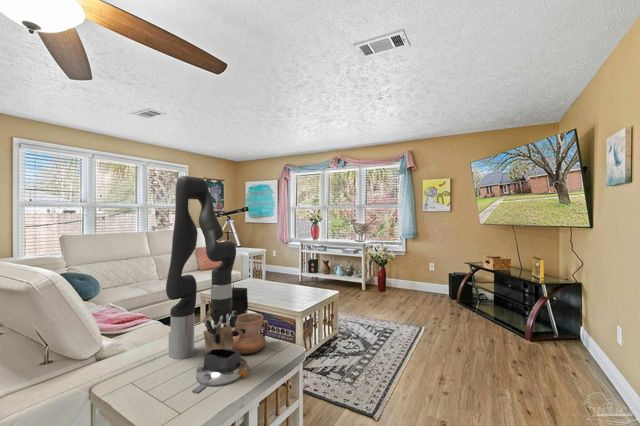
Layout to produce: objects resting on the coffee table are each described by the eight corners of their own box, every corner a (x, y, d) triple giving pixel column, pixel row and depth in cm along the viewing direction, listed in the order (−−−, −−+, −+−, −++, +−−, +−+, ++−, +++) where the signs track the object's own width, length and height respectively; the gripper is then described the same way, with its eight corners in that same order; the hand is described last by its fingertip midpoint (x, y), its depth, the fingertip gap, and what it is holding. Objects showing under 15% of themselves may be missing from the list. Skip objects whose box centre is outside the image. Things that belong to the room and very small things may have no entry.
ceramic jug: (236, 362, 120) (236, 326, 120) (224, 349, 131) (224, 316, 131) (276, 350, 130) (276, 317, 131) (261, 338, 142) (261, 308, 142)
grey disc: (184, 379, 107) (185, 359, 107) (219, 357, 123) (219, 339, 123) (229, 391, 99) (229, 369, 99) (259, 366, 116) (259, 347, 116)
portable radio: (250, 332, 149) (250, 282, 149) (244, 337, 143) (244, 285, 143) (235, 331, 151) (235, 281, 151) (229, 336, 145) (229, 284, 145)
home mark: (192, 392, 99) (192, 390, 99) (201, 385, 103) (201, 384, 103) (197, 393, 98) (197, 392, 98) (206, 387, 102) (206, 385, 102)
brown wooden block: (203, 331, 117) (223, 328, 108) (210, 329, 119) (231, 326, 110) (206, 349, 115) (227, 348, 106) (213, 347, 118) (234, 345, 108)
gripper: (232, 290, 119) (232, 333, 119) (198, 297, 108) (198, 345, 108) (243, 293, 114) (243, 338, 114) (209, 301, 104) (209, 351, 103)
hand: (221, 341), depth 111 cm, fingers closed on brown wooden block, 3 cm apart
